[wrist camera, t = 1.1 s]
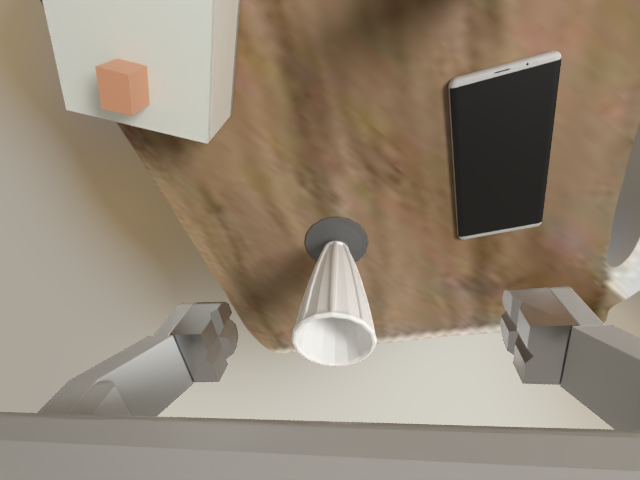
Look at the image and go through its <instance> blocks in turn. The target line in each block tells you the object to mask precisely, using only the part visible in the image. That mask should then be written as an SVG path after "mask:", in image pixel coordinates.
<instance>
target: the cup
mask: <svg viewBox="0 0 640 480" xmlns="http://www.w3.org/2000/svg"><path fill="white" fill-rule="evenodd" d="M305 246H306V248H307V251H308V253H309V254H310V255H311V257H312V258H313V259H314V260H315V261H317V263H316V265H315V267H314V270H313V272H312V275H311V277H310V279H309V282H308V285H307V288H306V291H305V294H304V297H303V299H302V302H301V306H300V309H299V313H298V316H297V320H296V324H295V327H294V329H293V332H292V339H291V341H292V343H293V345H294V347H295V349H296V351H297V352H298V353H299V354H301V355H302V356H303V357H304V358H306V359H307V360H309V361H312V362H315V363H317V364H320V365H327V366H334V367H336V366H345V365H351V364H354V363H357V362H359V361H362V360H364V359H365V358H366V357H367V356H368V355H369V354H371V353H372V352H373V350H374V348H375V345H376V343H377V339H376V335H375V330H374V325H373V321H372V316H371V312H370V308H369V303H368V300H367V297H366V293H365V290H364V286H363V283H362V280H361V277H360V274H359V272H358V269H357V266H356V263H355V262H356V261H358V260H359V259H360V258H361V257H362V256H363V255H364V254H365V252H366V249H367V246H368V240H367V235H366V233H365V231H364V230H363V229H362V228H361V226H360V225H359V224H357V223H355V222H353V221H351V220H349V219H345V218H339V217H333V218H327V219H323V220H321V221H319V222H317V223H316V224H314V225H312V227H311V228H310V230H309V231H308V232H307V234H306V240H305Z"/></svg>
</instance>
